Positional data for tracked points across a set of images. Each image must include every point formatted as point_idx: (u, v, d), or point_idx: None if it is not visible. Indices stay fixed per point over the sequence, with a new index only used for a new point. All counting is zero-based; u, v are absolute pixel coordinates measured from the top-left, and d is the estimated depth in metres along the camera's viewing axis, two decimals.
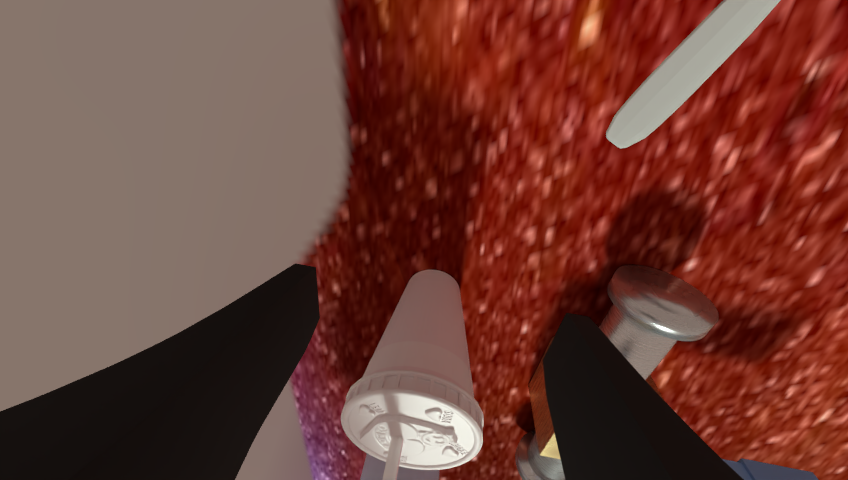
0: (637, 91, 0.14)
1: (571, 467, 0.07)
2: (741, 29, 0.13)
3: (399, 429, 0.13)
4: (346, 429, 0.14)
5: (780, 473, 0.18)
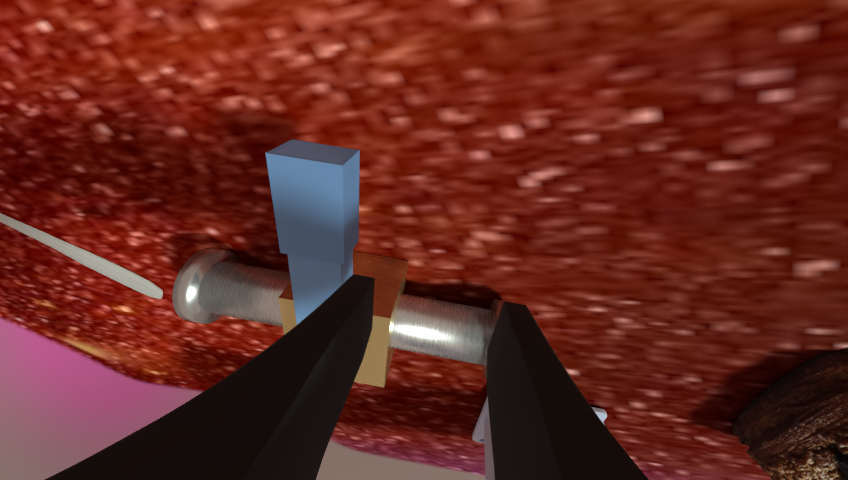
0: (134, 289, 0.26)
1: (497, 452, 0.07)
2: (86, 257, 0.24)
3: None
4: None
5: None
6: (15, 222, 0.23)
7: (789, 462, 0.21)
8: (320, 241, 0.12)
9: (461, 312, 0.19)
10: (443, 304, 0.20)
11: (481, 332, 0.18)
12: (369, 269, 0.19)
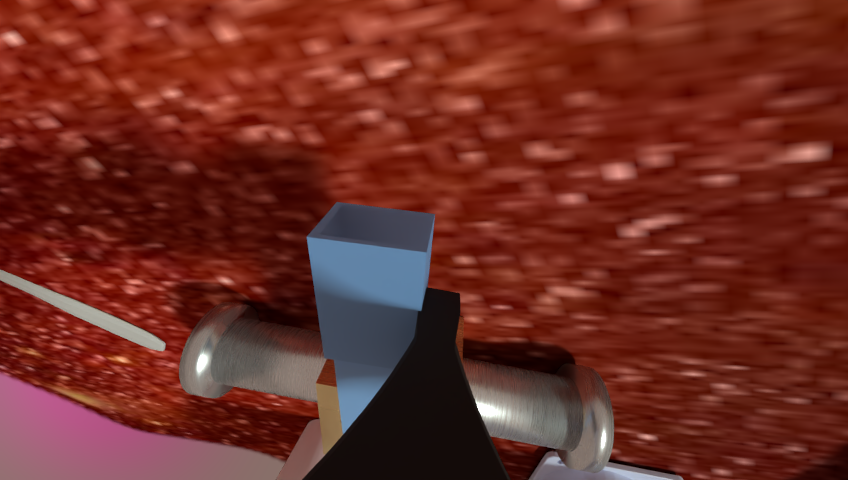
0: None
1: None
2: (75, 307, 0.21)
3: None
4: None
5: None
6: None
7: None
8: (383, 346, 0.08)
9: (535, 385, 0.15)
10: (511, 374, 0.16)
11: (564, 414, 0.15)
12: None
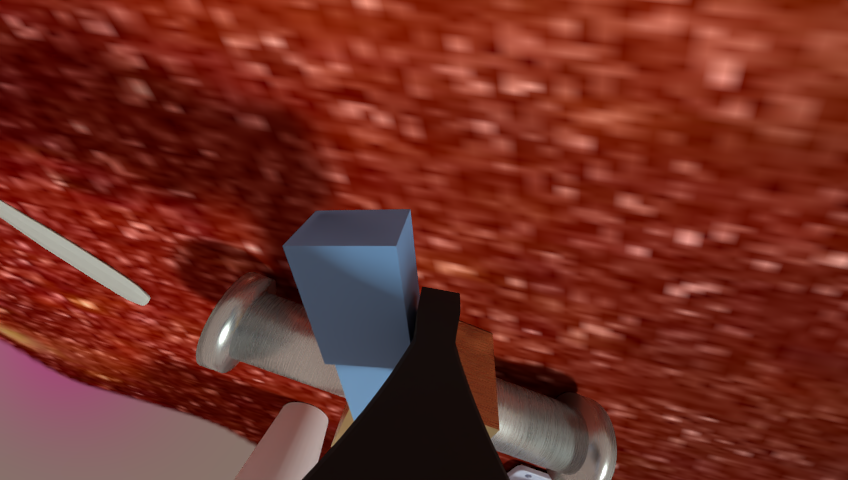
0: (109, 288, 0.20)
1: None
2: (49, 239, 0.18)
3: None
4: None
5: None
6: None
7: None
8: (377, 345, 0.08)
9: (550, 410, 0.16)
10: (529, 396, 0.17)
11: (573, 442, 0.16)
12: (456, 343, 0.16)
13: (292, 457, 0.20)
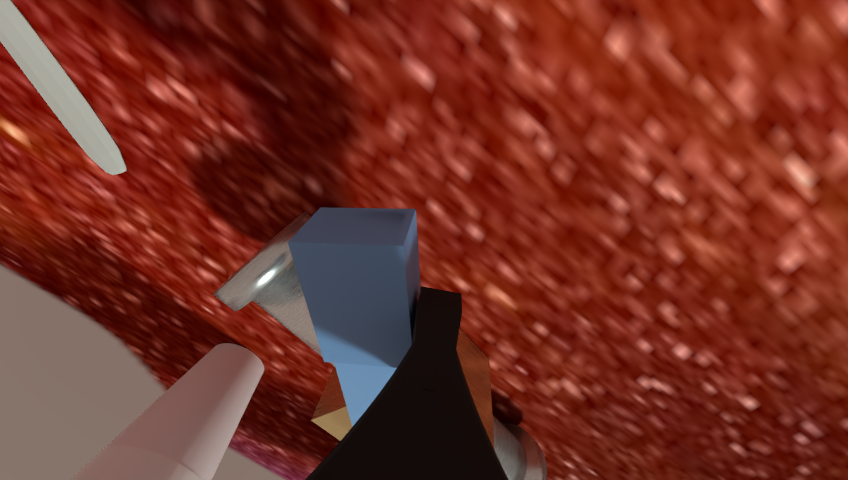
0: (70, 132, 0.14)
1: None
2: (17, 31, 0.12)
3: None
4: None
5: None
6: None
7: None
8: (378, 344, 0.08)
9: (508, 440, 0.18)
10: (496, 423, 0.18)
11: (516, 471, 0.18)
12: (468, 360, 0.16)
13: (225, 406, 0.18)
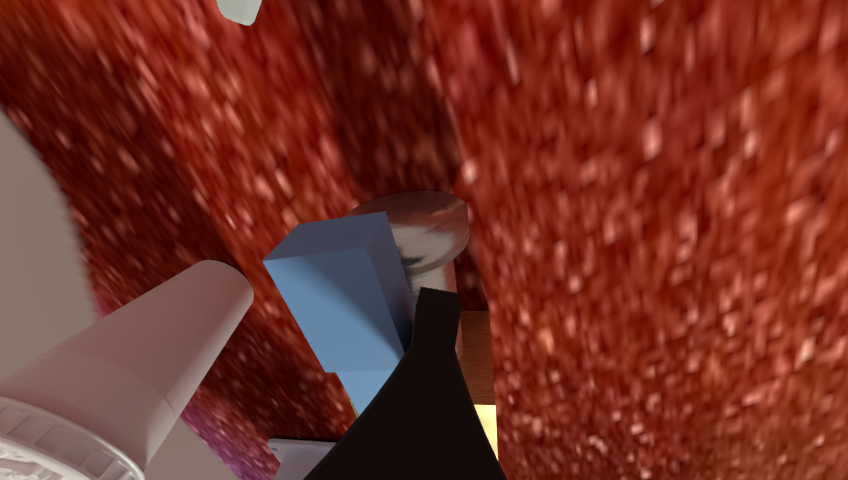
0: None
1: None
2: None
3: None
4: None
5: None
6: None
7: None
8: (370, 349, 0.08)
9: None
10: None
11: None
12: None
13: (216, 340, 0.15)
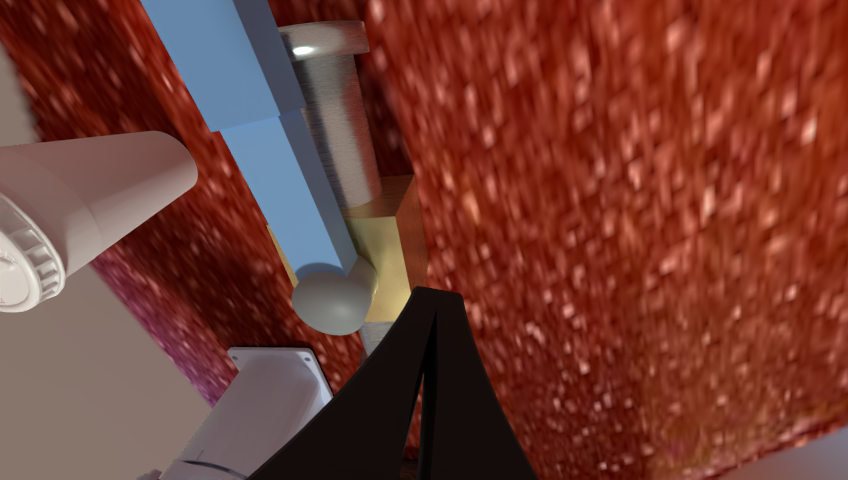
0: None
1: (421, 436, 0.07)
2: None
3: None
4: None
5: None
6: None
7: None
8: (241, 90, 0.09)
9: None
10: None
11: None
12: (420, 248, 0.18)
13: (150, 187, 0.16)
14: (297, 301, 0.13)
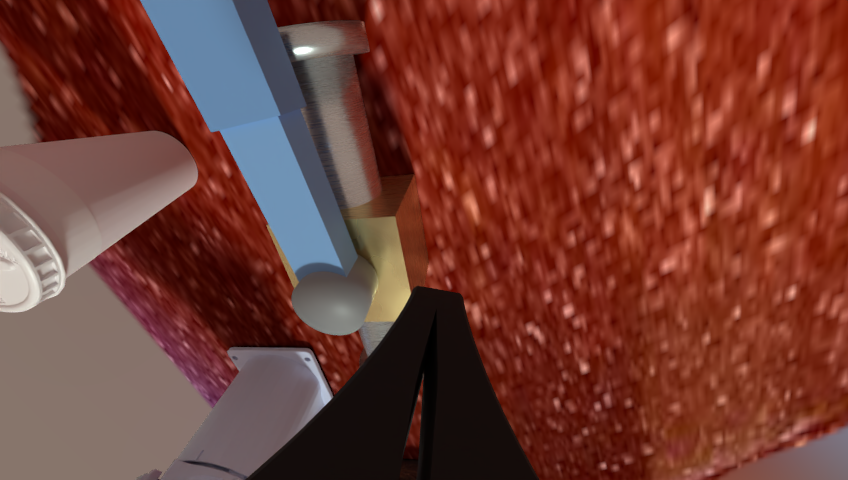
0: None
1: (421, 436, 0.07)
2: None
3: None
4: None
5: None
6: None
7: None
8: (241, 90, 0.09)
9: None
10: None
11: None
12: (420, 248, 0.18)
13: (150, 188, 0.16)
14: (297, 301, 0.13)
